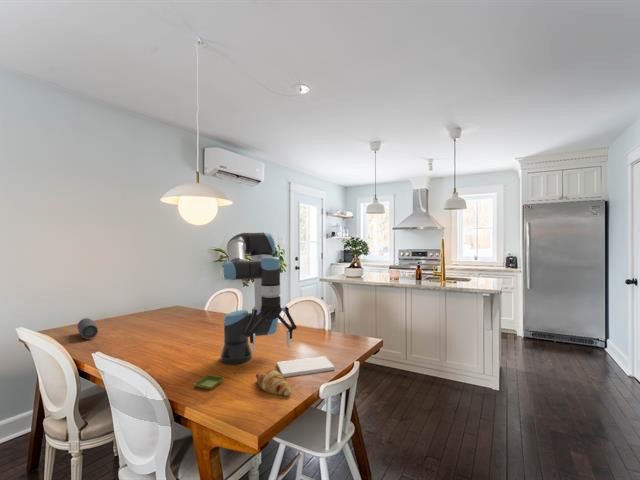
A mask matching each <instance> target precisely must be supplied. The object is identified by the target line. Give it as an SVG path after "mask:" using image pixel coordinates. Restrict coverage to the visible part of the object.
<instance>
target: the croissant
mask: <svg viewBox="0 0 640 480" xmlns="http://www.w3.org/2000/svg"><path fill="white" fill-rule="evenodd" d="M255 377H256V383H257V385H258V386H259V388H260V389H261V390H263V391H264V392H266V393H269V394H274V395H280V396H281V395H283V396H284V397H285V396H286V397H287V396H288V397H289V396H290V395H291V394H292V389H291V386H290V383H289V381H288V380H287V379H286V377H283V376H282V375H281V373H280V371H276V370H272V369H271V370H269V371H266V372H261V373H256V375H255Z"/></svg>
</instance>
